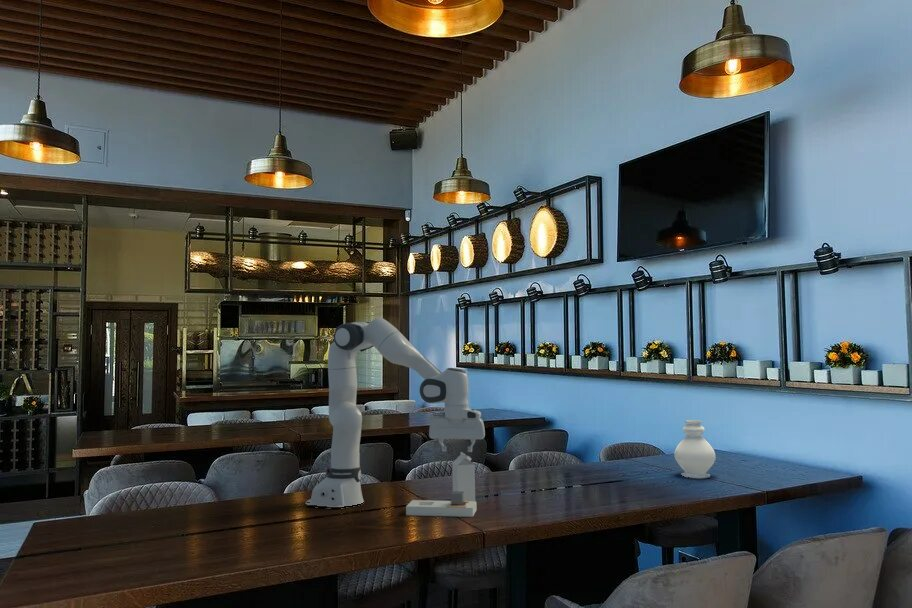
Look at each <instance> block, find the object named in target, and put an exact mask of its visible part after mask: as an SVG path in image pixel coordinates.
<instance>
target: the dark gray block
mask: <svg viewBox="0 0 912 608" xmlns="http://www.w3.org/2000/svg"><path fill="white" fill-rule="evenodd" d="M450 497H451V498H450V501H451V505H460V506H464V492H463V491H453V490H452V492H451V494H450Z"/></svg>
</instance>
